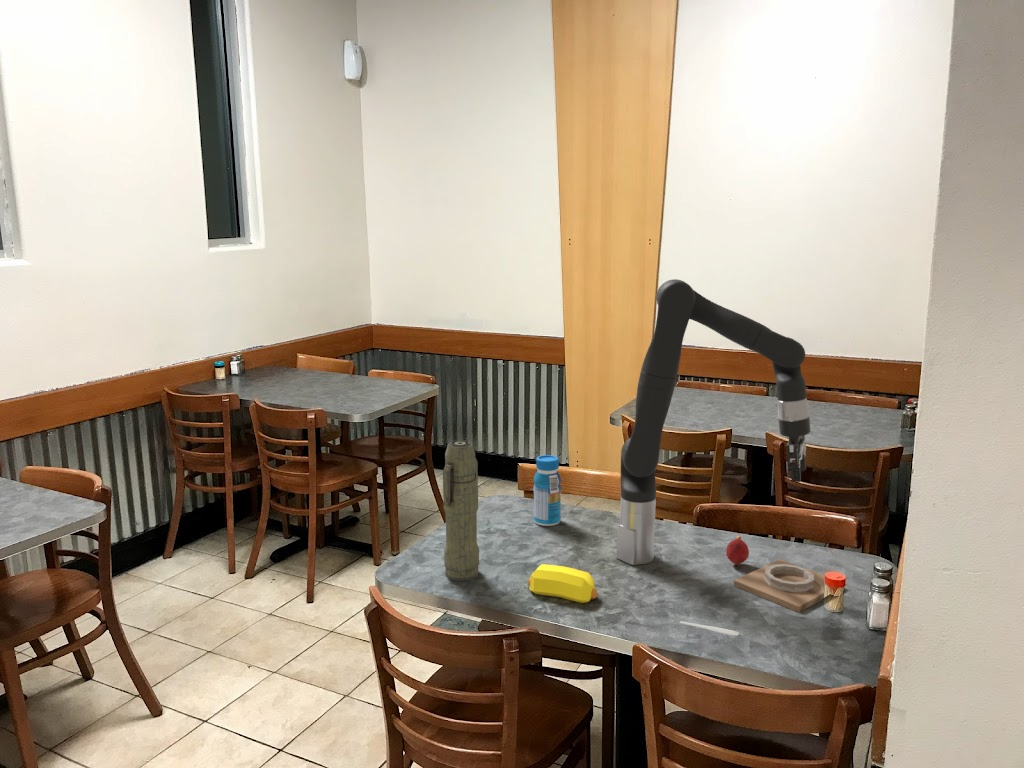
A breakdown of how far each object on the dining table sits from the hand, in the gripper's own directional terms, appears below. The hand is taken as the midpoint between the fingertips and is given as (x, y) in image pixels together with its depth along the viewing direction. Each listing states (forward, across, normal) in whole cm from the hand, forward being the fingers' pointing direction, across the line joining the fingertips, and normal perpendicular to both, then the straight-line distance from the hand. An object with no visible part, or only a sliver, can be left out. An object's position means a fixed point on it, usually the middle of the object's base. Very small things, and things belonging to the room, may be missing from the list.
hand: (798, 476), depth 211 cm
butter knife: (+20, +46, -21) cm, 54 cm away
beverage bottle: (+14, +3, -73) cm, 75 cm away
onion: (+22, +9, -16) cm, 29 cm away
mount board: (+24, +16, -2) cm, 28 cm away
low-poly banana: (+16, +45, -50) cm, 69 cm away
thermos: (+12, +46, -78) cm, 91 cm away
